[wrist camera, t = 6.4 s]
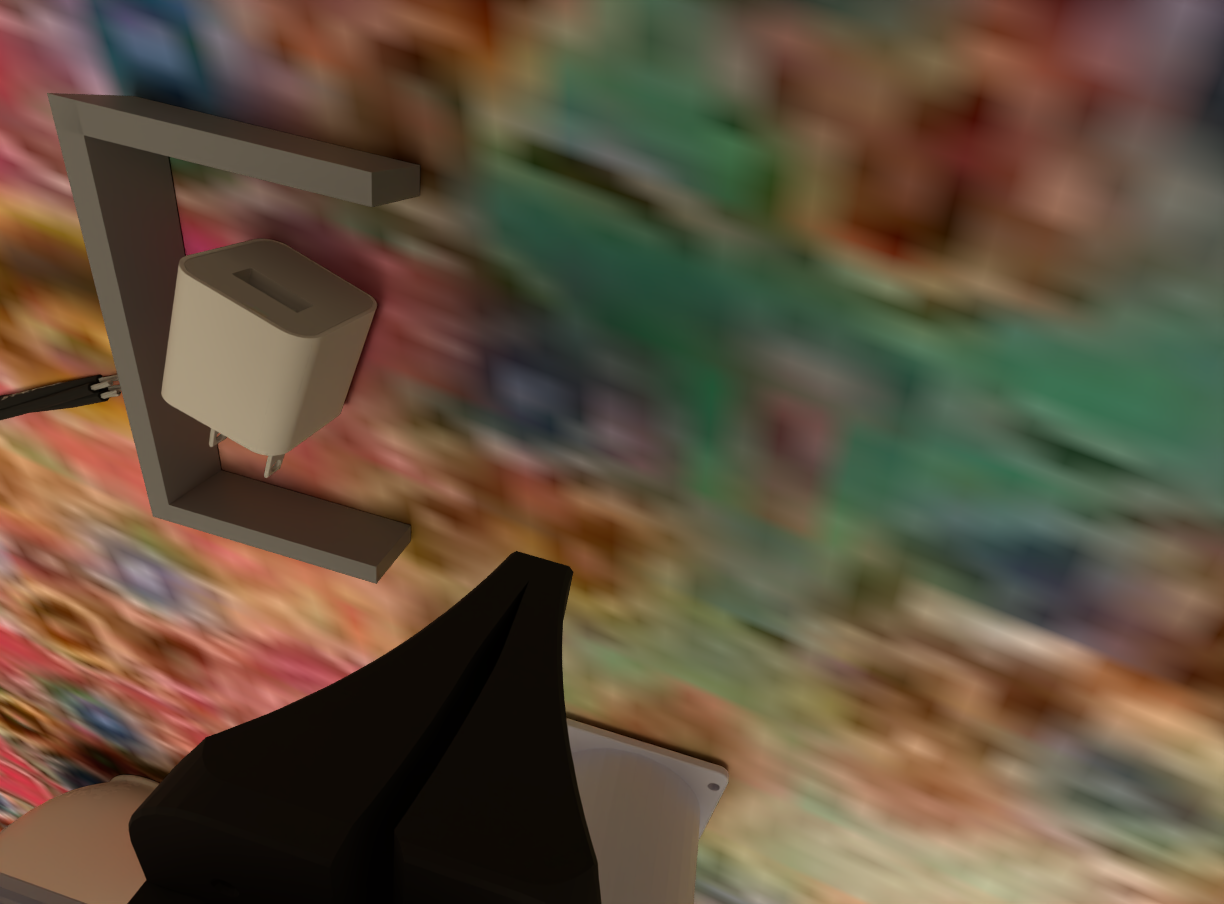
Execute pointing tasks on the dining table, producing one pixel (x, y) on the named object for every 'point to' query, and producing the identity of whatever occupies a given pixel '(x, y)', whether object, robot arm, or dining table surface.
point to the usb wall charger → (263, 345)
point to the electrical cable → (59, 396)
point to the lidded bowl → (80, 842)
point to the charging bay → (144, 295)
